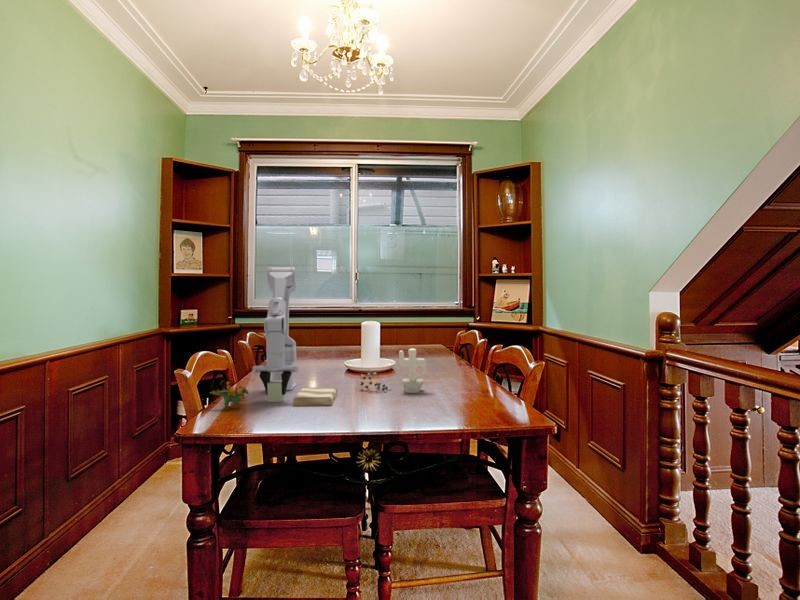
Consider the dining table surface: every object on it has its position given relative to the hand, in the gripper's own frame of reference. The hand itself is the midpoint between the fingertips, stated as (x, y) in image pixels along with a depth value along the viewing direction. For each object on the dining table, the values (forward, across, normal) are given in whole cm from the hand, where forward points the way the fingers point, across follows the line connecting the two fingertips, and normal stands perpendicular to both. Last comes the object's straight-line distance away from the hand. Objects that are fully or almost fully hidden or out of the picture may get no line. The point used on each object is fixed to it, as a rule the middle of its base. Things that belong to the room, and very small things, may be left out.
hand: (276, 394), depth 148 cm
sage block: (+2, 0, 0) cm, 2 cm away
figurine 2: (+2, +45, +11) cm, 46 cm away
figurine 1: (+2, -12, -9) cm, 15 cm away
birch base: (+2, +13, 0) cm, 13 cm away
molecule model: (+2, +32, +12) cm, 34 cm away
